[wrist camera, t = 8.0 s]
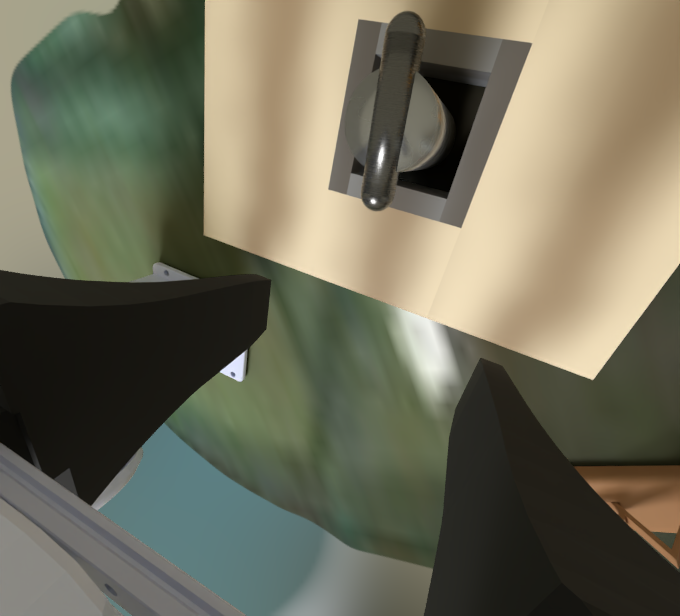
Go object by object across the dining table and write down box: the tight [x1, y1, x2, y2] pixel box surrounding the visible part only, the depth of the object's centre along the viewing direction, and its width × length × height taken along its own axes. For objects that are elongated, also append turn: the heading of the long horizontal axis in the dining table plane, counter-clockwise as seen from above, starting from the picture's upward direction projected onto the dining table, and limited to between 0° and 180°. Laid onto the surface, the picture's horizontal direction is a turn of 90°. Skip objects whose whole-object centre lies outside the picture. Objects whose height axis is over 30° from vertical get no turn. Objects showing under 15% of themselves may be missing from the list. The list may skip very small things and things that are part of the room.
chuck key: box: [345, 11, 456, 211], centre depth 13 cm, size 3×6×7 cm, turn 173°
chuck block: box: [204, 0, 680, 380], centre depth 15 cm, size 22×16×3 cm
